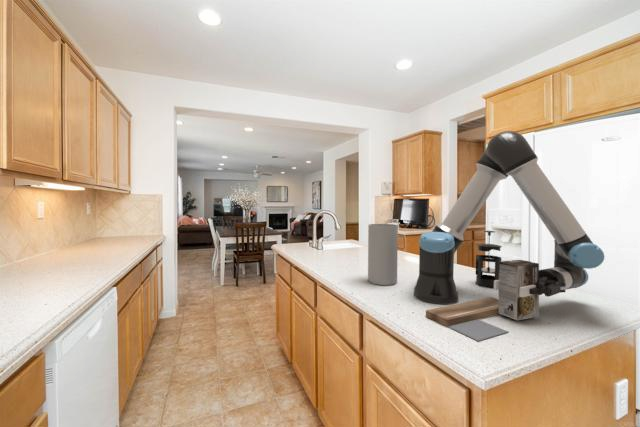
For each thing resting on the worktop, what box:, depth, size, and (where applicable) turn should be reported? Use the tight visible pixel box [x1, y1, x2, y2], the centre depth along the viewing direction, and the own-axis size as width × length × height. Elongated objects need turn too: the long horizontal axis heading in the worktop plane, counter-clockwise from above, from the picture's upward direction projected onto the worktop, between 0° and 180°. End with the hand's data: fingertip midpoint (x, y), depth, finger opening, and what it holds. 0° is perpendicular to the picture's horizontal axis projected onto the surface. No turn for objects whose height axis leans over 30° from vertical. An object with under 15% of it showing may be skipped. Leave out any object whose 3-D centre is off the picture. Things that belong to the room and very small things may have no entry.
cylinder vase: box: [367, 223, 399, 286], centre depth 126 cm, size 12×12×25 cm
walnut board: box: [425, 296, 500, 328], centre depth 90 cm, size 8×30×2 cm, turn 115°
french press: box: [475, 230, 503, 289], centre depth 122 cm, size 12×9×23 cm
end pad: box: [447, 319, 509, 342], centre depth 78 cm, size 9×12×1 cm
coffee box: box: [497, 259, 540, 321], centre depth 87 cm, size 9×6×16 cm
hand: (507, 288), depth 85 cm, fingers closed on coffee box, 7 cm apart
